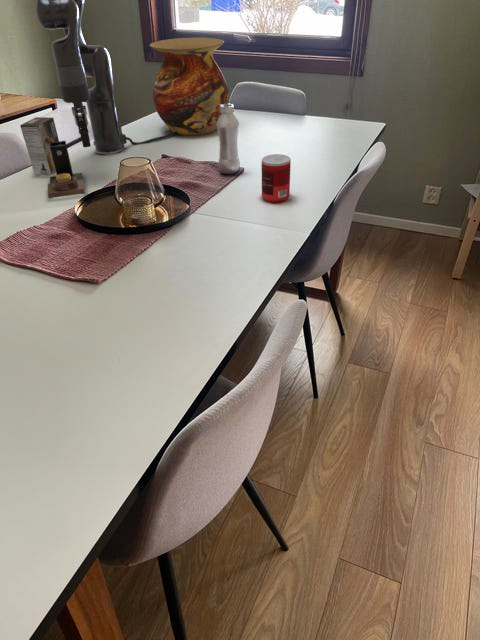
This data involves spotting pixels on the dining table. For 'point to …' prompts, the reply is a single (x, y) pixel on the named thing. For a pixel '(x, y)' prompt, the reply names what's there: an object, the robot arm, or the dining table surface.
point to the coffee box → (40, 143)
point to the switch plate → (65, 188)
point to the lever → (72, 142)
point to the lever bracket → (62, 160)
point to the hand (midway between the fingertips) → (86, 143)
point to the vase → (189, 85)
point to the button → (63, 178)
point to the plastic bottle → (228, 140)
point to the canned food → (275, 178)
